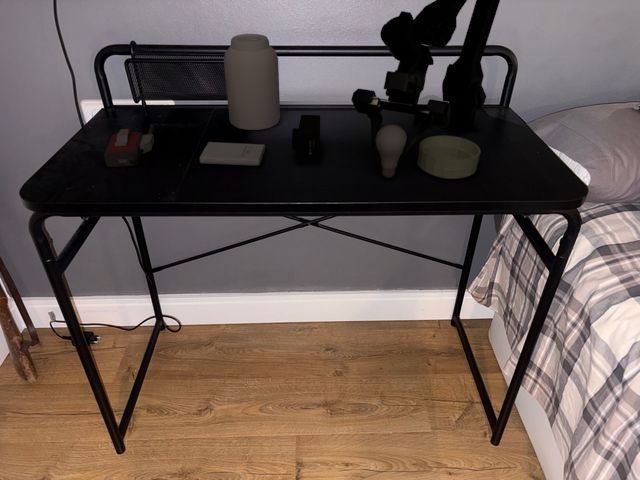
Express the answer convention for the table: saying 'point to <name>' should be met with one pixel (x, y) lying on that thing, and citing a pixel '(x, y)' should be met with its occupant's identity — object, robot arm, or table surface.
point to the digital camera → (307, 139)
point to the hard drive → (232, 154)
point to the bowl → (448, 156)
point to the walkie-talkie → (128, 147)
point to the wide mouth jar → (252, 82)
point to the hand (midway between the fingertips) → (388, 148)
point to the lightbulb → (390, 147)
